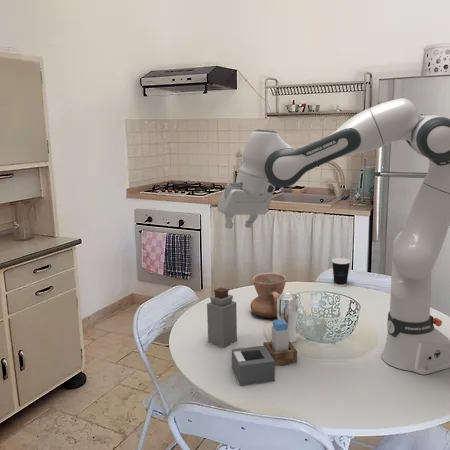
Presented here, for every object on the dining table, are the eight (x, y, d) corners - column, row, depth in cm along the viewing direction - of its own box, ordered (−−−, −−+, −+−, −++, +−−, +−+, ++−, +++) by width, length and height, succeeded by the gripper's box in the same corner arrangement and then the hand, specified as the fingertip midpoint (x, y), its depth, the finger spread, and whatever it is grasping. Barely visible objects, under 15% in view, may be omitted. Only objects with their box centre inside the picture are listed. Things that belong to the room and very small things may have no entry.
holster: (288, 351, 155) (288, 339, 154) (297, 363, 147) (297, 350, 147) (263, 354, 153) (263, 342, 153) (271, 366, 146) (271, 354, 145)
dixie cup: (340, 280, 220) (341, 257, 217) (353, 285, 213) (354, 261, 210) (327, 284, 216) (327, 259, 214) (339, 289, 209) (340, 264, 207)
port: (264, 364, 147) (264, 344, 146) (274, 380, 138) (274, 360, 137) (231, 368, 145) (231, 348, 144) (240, 385, 136) (239, 365, 134)
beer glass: (297, 345, 159) (297, 301, 156) (275, 343, 161) (275, 299, 157) (298, 335, 166) (298, 293, 163) (277, 334, 167) (277, 292, 164)
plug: (284, 355, 153) (284, 318, 150) (288, 361, 149) (288, 323, 146) (271, 356, 152) (271, 320, 149) (275, 362, 148) (275, 325, 146)
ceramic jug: (246, 306, 192) (245, 271, 189) (282, 303, 194) (282, 269, 191) (256, 326, 175) (255, 288, 172) (295, 322, 177) (296, 285, 174)
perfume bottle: (236, 340, 163) (236, 289, 159) (223, 348, 158) (222, 294, 154) (221, 335, 167) (220, 284, 164) (208, 342, 162) (206, 290, 158)
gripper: (236, 185, 135) (223, 232, 138) (278, 188, 150) (266, 230, 154) (219, 178, 139) (207, 224, 142) (263, 181, 154) (251, 223, 158)
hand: (238, 227), depth 148 cm, fingers open, 8 cm apart
